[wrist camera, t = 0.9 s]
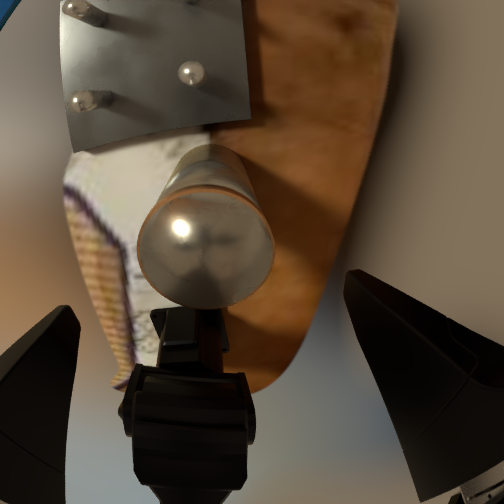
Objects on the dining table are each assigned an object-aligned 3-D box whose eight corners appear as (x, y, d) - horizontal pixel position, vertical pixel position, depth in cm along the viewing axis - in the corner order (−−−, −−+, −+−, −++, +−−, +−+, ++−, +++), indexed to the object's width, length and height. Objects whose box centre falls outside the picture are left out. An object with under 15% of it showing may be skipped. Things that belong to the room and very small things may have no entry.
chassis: (249, 117, 17) (260, 124, 13) (81, 149, 16) (43, 169, 12) (235, -36, 11) (242, -71, 6) (67, 5, 10) (31, -11, 6)
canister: (250, 209, 20) (277, 300, 12) (179, 218, 20) (157, 314, 12) (244, 138, 18) (272, 180, 9) (167, 149, 17) (121, 202, 9)
